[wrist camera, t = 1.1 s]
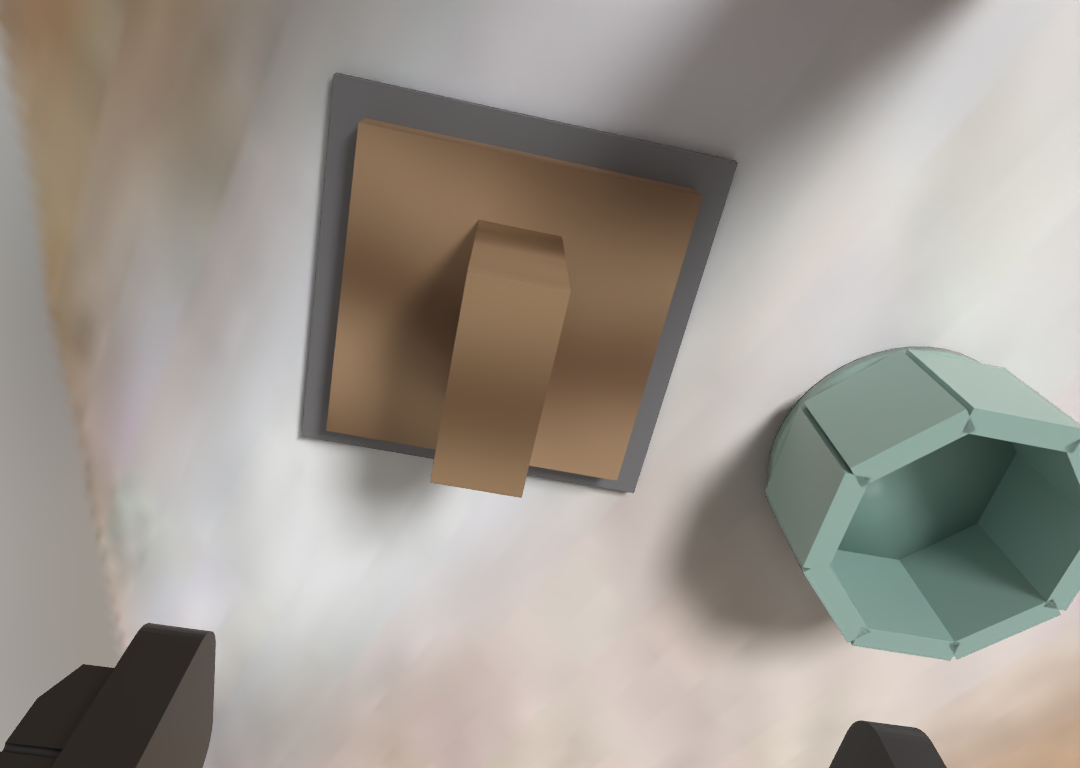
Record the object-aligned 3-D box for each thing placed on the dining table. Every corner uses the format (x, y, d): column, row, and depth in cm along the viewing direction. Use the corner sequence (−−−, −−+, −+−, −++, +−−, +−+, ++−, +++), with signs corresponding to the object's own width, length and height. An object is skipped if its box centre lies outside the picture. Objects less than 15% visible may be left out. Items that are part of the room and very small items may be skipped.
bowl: (820, 324, 26) (882, 390, 21) (1064, 372, 27) (1173, 446, 22) (735, 538, 30) (773, 633, 25) (951, 574, 30) (1025, 672, 26)
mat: (336, 72, 22) (333, 74, 22) (734, 160, 23) (737, 163, 23) (304, 430, 27) (301, 436, 27) (632, 487, 28) (633, 493, 28)
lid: (365, 118, 22) (313, 151, 17) (695, 188, 23) (747, 242, 18) (333, 416, 26) (283, 520, 21) (614, 465, 28) (635, 576, 22)
